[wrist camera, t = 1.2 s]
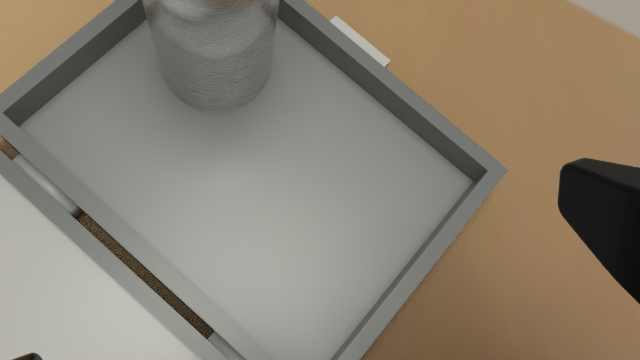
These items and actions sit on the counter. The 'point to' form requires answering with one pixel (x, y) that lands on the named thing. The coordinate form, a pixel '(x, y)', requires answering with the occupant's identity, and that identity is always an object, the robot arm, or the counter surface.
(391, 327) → the counter surface
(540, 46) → the counter surface
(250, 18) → the grey cylinder
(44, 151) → the case
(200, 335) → the lid
